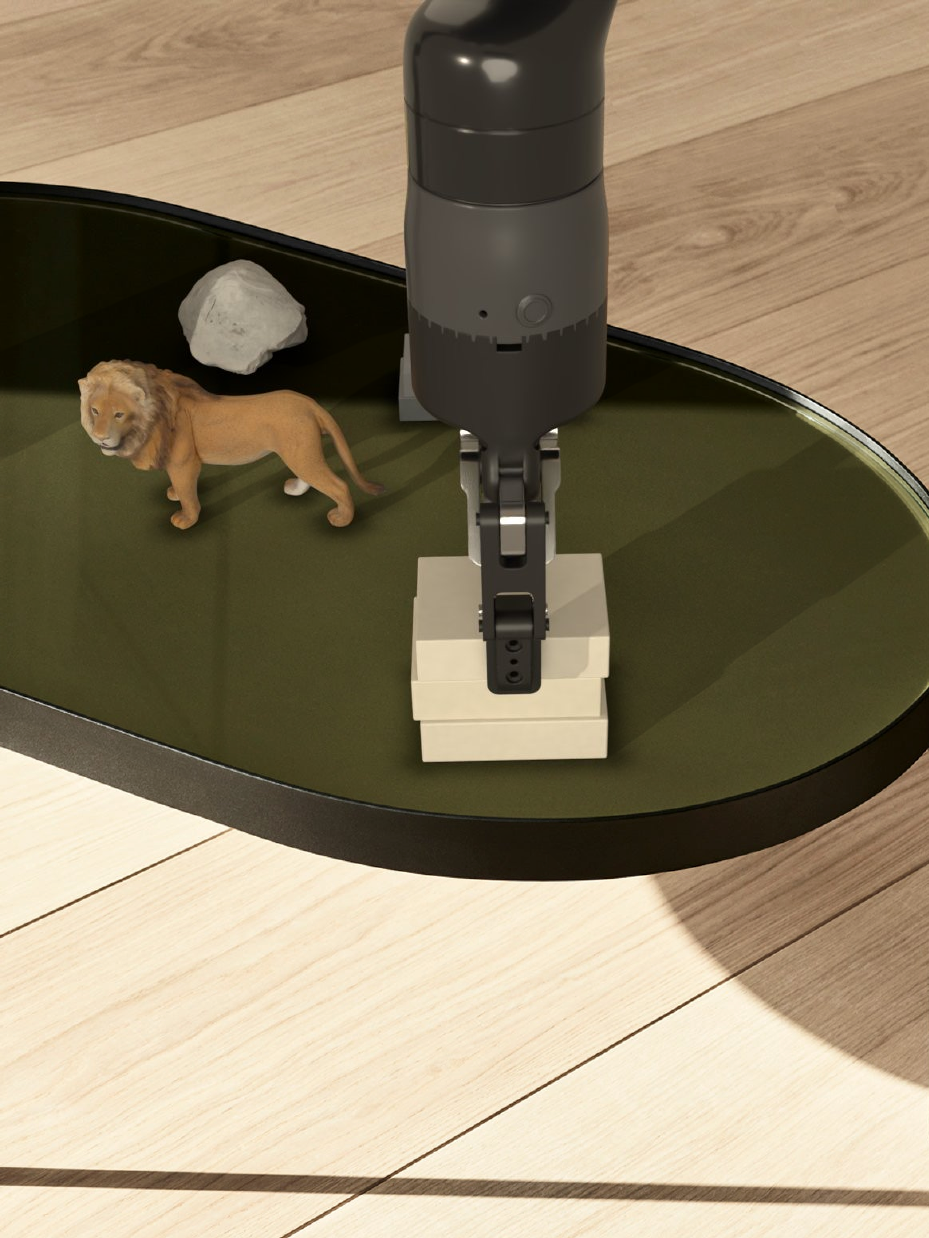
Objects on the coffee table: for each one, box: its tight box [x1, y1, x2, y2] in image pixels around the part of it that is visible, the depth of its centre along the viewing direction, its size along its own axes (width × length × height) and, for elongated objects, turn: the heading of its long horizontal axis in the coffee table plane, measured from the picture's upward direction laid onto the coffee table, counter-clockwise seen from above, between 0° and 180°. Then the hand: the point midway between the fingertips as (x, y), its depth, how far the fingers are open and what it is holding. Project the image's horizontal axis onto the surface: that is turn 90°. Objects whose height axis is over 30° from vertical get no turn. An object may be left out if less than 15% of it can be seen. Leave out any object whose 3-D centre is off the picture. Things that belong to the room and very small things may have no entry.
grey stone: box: [177, 259, 308, 375], centre depth 106 cm, size 9×8×5 cm
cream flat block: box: [415, 552, 611, 682], centre depth 79 cm, size 8×6×2 cm
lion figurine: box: [77, 358, 387, 530], centre depth 92 cm, size 15×5×9 cm, turn 98°
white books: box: [410, 596, 609, 763], centre depth 81 cm, size 8×6×4 cm
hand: (512, 626), depth 79 cm, fingers open, 8 cm apart
